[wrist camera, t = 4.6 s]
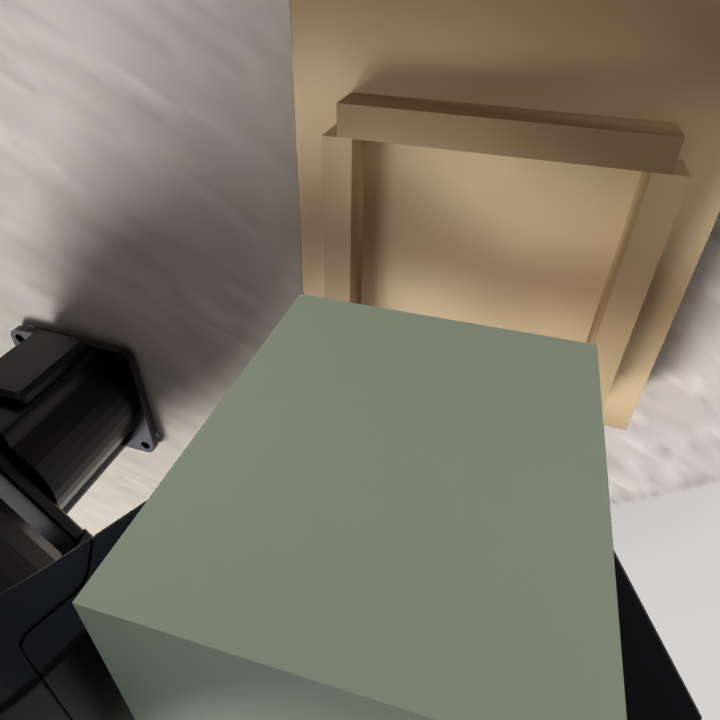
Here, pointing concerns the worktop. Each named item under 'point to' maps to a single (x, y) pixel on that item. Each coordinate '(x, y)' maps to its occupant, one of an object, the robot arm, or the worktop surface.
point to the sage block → (376, 535)
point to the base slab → (512, 164)
